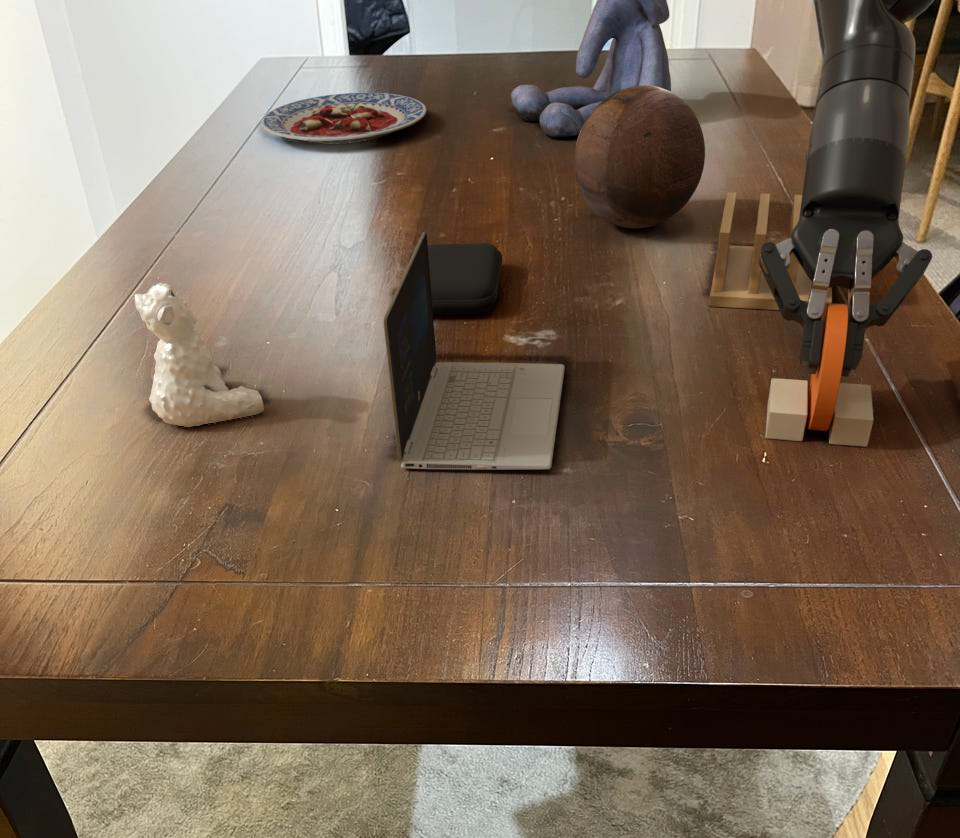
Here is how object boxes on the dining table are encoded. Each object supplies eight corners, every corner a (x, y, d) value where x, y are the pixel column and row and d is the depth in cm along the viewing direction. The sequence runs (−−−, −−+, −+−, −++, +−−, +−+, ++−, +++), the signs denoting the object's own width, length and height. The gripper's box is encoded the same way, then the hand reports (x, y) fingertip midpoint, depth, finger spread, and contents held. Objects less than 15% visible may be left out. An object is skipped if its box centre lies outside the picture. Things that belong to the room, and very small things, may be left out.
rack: (828, 260, 111) (841, 192, 106) (829, 313, 101) (843, 241, 96) (718, 255, 114) (725, 189, 109) (708, 306, 104) (716, 235, 99)
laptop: (550, 475, 81) (551, 320, 72) (398, 471, 83) (380, 318, 74) (564, 371, 94) (566, 230, 86) (433, 369, 96) (421, 230, 87)
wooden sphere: (721, 217, 123) (736, 80, 113) (655, 257, 114) (665, 112, 104) (618, 196, 130) (623, 65, 120) (548, 231, 122) (548, 94, 112)
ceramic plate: (391, 157, 147) (389, 135, 145) (234, 149, 153) (230, 128, 151) (449, 110, 165) (448, 89, 163) (307, 104, 171) (304, 85, 169)
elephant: (501, 110, 163) (497, -42, 150) (645, 92, 167) (654, -57, 154) (540, 145, 148) (539, -21, 134) (697, 124, 152) (712, -38, 139)
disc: (823, 400, 89) (845, 286, 83) (826, 452, 81) (850, 330, 75) (806, 399, 89) (826, 285, 83) (806, 450, 81) (829, 329, 75)
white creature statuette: (271, 412, 91) (245, 282, 83) (188, 449, 87) (152, 315, 79) (215, 379, 96) (185, 254, 88) (134, 413, 92) (95, 284, 84)
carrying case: (411, 266, 115) (393, 321, 104) (408, 239, 113) (390, 292, 102) (503, 264, 114) (496, 320, 104) (503, 237, 112) (495, 291, 101)
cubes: (864, 411, 86) (870, 384, 85) (867, 447, 82) (873, 419, 80) (767, 404, 88) (771, 377, 86) (765, 438, 84) (769, 411, 82)
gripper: (770, 132, 78) (742, 350, 77) (960, 136, 75) (932, 362, 75) (763, 181, 86) (737, 381, 85) (935, 186, 83) (910, 393, 82)
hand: (828, 371), depth 80 cm, fingers closed
